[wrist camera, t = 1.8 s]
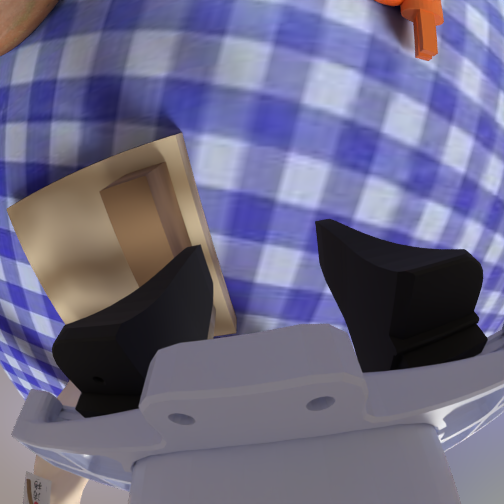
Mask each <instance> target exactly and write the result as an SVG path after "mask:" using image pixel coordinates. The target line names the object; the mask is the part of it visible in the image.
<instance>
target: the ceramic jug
mask: <svg viewBox="0 0 504 504" xmlns="http://www.w3.org/2000/svg"><path fill="white" fill-rule="evenodd" d="M58 1H59V0H0V56H2V55H4V54H6V53H7V52H9V51H10V50H12V49H13V48H15V47H16V46H17V45H19V44H20V43H21V42H22V41H23V40H25V39H26V38H27V37H28V36H29V35H30V34H31V33H32V32H33V31H34V30H35V29H36V28H37V27H38V26H39V25H40V24H41V23H42V21H43V20H44V19H45V18H46V17H47V16H48V14H49V13H50V12H51V11H52V9H53V8H54V7H55V6H56V4H57V3H58Z"/></svg>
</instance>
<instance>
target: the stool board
mask: <svg viewBox="0 0 504 504" xmlns="http://www.w3.org/2000/svg"><path fill="white" fill-rule="evenodd" d="M165 161H166V164H167V167H168V171H169V174H170V178H171V181H172V184H173V188H174V191H175V194H176V198H177V201H178V204H179V207H180V210H181V214H182V217H183V220H184V223H185V226H186V229H187V232H188V235H189V238H190V241H191V244H192V246H195V245H200V244H201V247H202V250H203V253H204V256H205V259H206V262H207V265H208V268H209V271H210V274H211V277H212V280H213V304H214V306H215V308H216V318H215V327H214V336H220V335H227V334H234V333H236V325H237V318H236V315H235V312H234V309H233V306H232V303H231V300H230V296H229V293H228V290H227V287H226V284H225V281H224V278H223V274H222V271H221V268H220V265H219V261H218V258H217V255H216V252H215V248H214V245H213V242H212V238H211V235H210V232H209V228H208V225H207V222H206V218H205V215H204V211H203V208H202V204H201V201H200V197H199V194H198V190H197V187H196V183H195V179H194V176H193V172H192V168H191V165H190V161H189V157H188V154H187V150H186V146H185V142H184V138H183V135H182V133H179V134H175V135H172V136H169V137H166V138H162V139H159V140H156V141H153V142H150V143H147V144H144V145H141V146H139V147H136V148H133V149H130V150H127V151H125V152H122V153H120V154H117V155H114V156H112V157H109V158H107V159H104V160H102V161H99V162H97V163H95V164H92V165H90V166H88V167H85V168H83V169H81V170H79V171H77V172H74V173H72V174H70V175H68V176H66V177H64V178H62V179H60V180H58V181H56V182H54V183H52V184H50V185H48V186H46V187H44V188H42V189H40V190H38V191H36V192H34V193H33V194H31V195H29V196H27V197H25V198H24V199H22V200H20V201H19V202H17V203H15V204H14V205H12V206H10V207H9V208H7V212H8V215H9V217H10V220H11V222H12V225H13V227H14V230H15V232H16V234H17V237H18V239H19V241H20V243H21V246H22V248H23V250H24V252H25V254H26V256H27V258H28V260H29V262H30V264H31V266H32V268H33V270H34V272H35V274H36V276H37V278H38V280H39V281H40V283H41V285H42V287H43V289H44V290H45V292H46V294H47V296H48V297H49V299H50V301H51V302H52V304H53V306H54V307H55V309H56V310H57V312H58V314H59V315H60V317H61V318H62V320H63V321H64V323H65V324H69V323H72V322H74V321H77V320H80V319H82V318H85V317H88V316H90V315H92V314H94V313H97V312H99V311H101V310H103V309H105V308H107V307H109V306H111V305H113V304H114V303H116V302H118V301H119V300H121V299H123V298H124V297H126V296H128V295H129V294H131V293H132V292H134V291H135V290H137V289H138V288H139V286H138V284H137V282H136V280H135V278H134V276H133V273H132V271H131V269H130V267H129V265H128V262H127V260H126V258H125V256H124V253H123V251H122V249H121V246H120V244H119V242H118V239H117V237H116V234H115V232H114V230H113V227H112V225H111V222H110V219H109V217H108V214H107V212H106V209H105V206H104V203H103V201H102V198H101V195H100V192H99V191H101V190H102V189H104V188H105V187H107V186H108V185H110V184H111V183H113V182H114V181H116V180H118V179H119V178H121V177H122V176H124V175H126V174H128V173H131V172H134V171H137V170H140V169H143V168H146V167H149V166H152V165H156V164H159V163H162V162H165Z"/></svg>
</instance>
